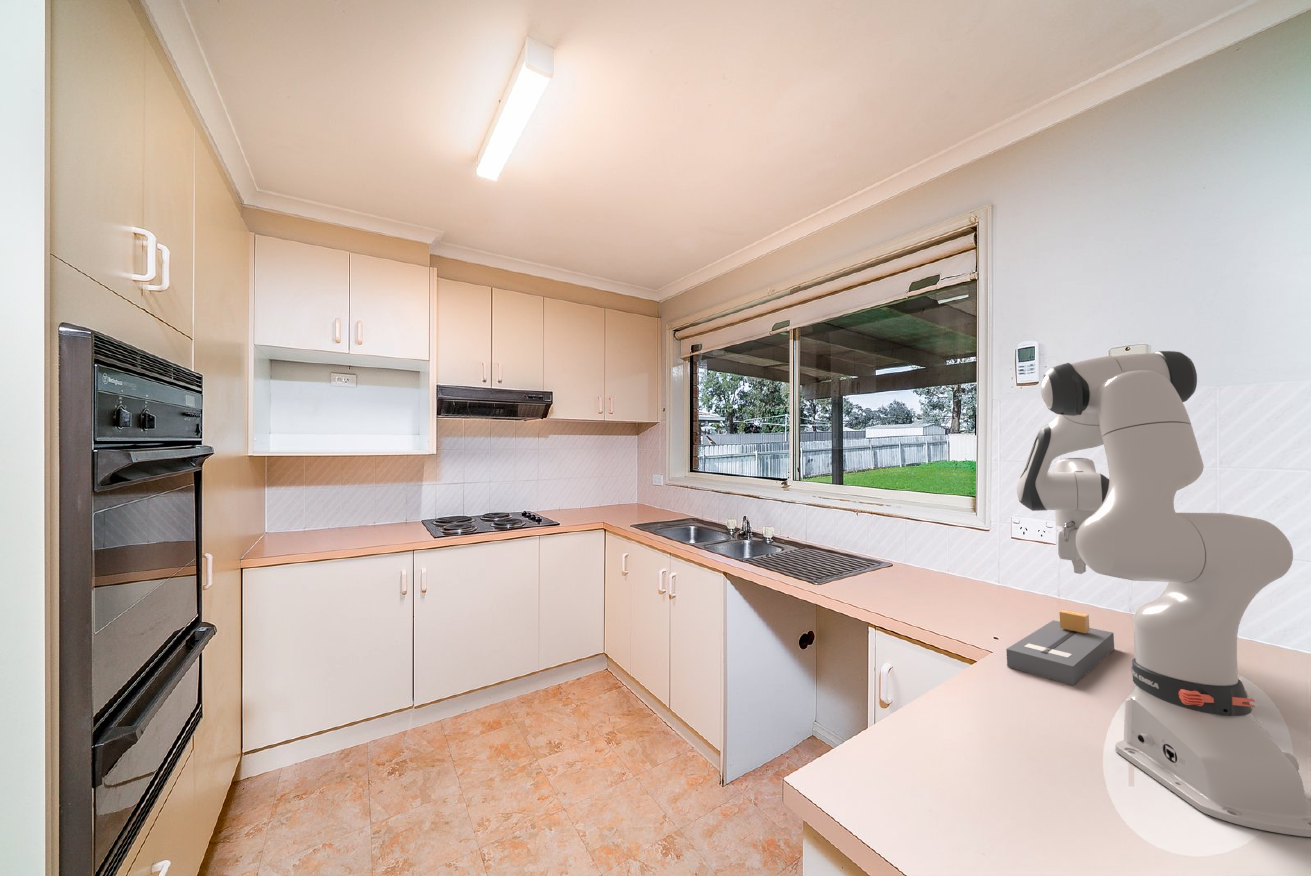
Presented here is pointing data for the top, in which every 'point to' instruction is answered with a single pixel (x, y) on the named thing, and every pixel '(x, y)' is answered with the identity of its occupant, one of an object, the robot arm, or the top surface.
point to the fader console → (1060, 652)
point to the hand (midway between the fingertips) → (1080, 572)
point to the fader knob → (1074, 621)
